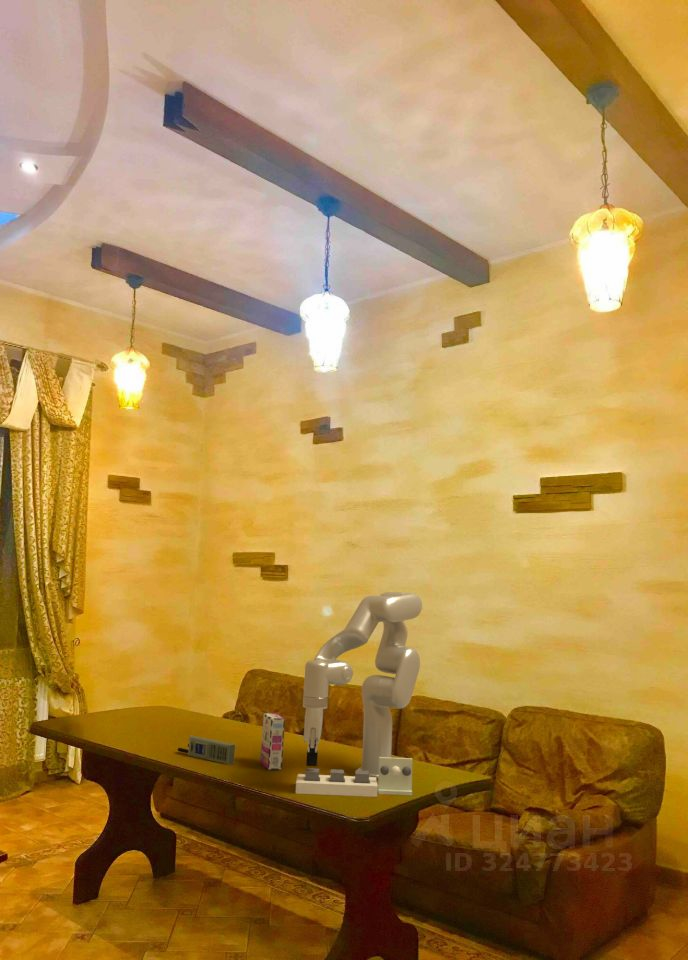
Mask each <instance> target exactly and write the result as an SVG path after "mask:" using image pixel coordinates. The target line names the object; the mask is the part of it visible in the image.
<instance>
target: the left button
mask: <svg viewBox="0 0 688 960" xmlns="http://www.w3.org/2000/svg"><path fill="white" fill-rule="evenodd" d="M304 774H305V781H319V775H320V768H309V767H308V768H307V767H306V768H305V773H304Z"/></svg>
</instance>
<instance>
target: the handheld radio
mask: <svg viewBox="0 0 688 960" xmlns="http://www.w3.org/2000/svg"><path fill="white" fill-rule="evenodd" d="M188 737H189V738H188V741H189V742H188V744H187V747H188V749H186V748H182V747H178V748H177V752H179V753H184V754H187V756H189V757H193V758H197V759H201V760H202V759H203V760H206V761H210V762H215V763H219V764H225V765H229V766H230V765H234V763H235V761H234V760H235V751H236V744H235V743H230V742H226V741H219V740H215V739H209V738H206V737H201V736H196V735H195V736H194V735H188Z"/></svg>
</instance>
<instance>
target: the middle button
mask: <svg viewBox="0 0 688 960" xmlns="http://www.w3.org/2000/svg"><path fill="white" fill-rule="evenodd" d="M344 776H345V770H344V769H336V768H335V769H330V782H344Z"/></svg>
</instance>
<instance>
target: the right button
mask: <svg viewBox="0 0 688 960" xmlns="http://www.w3.org/2000/svg"><path fill="white" fill-rule="evenodd" d="M354 776H355V783H369V771H358V770H357V769H356V770H355V773H354Z"/></svg>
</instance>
